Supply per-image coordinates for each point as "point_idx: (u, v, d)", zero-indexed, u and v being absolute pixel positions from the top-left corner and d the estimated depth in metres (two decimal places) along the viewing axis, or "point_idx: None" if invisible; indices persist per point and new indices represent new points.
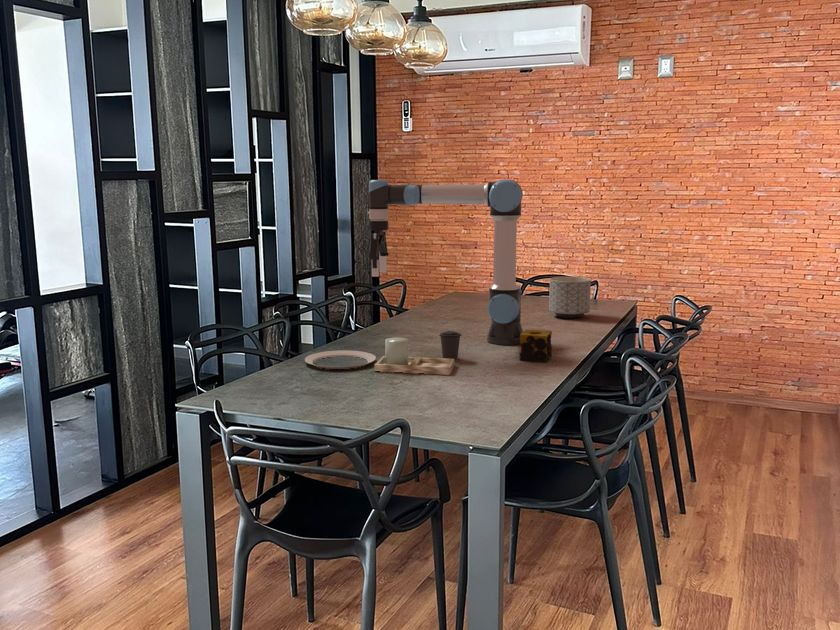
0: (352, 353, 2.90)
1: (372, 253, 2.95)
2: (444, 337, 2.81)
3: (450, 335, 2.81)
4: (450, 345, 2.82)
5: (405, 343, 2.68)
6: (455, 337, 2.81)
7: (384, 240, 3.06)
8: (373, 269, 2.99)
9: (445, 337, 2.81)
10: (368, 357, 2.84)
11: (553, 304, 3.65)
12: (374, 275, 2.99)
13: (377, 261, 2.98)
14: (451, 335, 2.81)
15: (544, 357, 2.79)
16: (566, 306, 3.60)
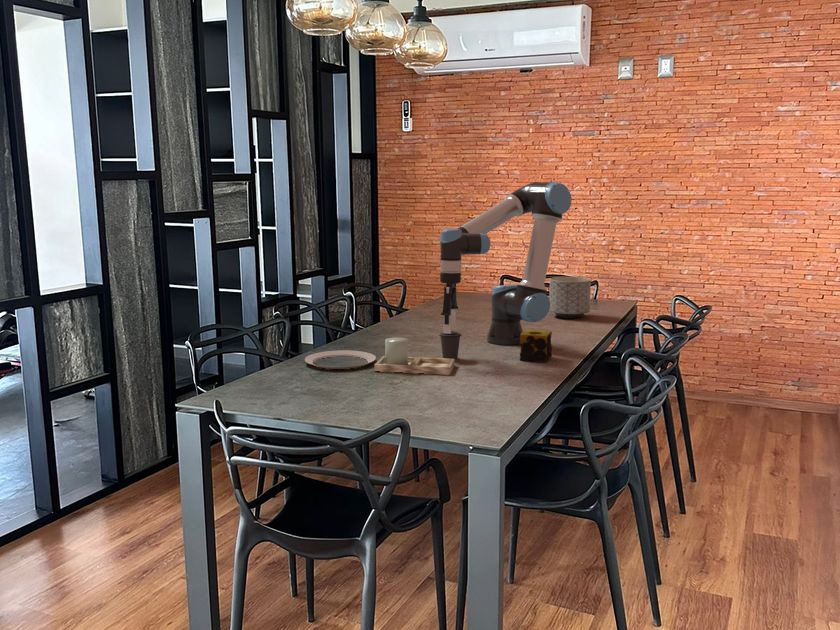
0: (352, 353, 2.90)
1: (445, 309, 2.73)
2: (444, 337, 2.81)
3: (450, 335, 2.81)
4: (450, 345, 2.82)
5: (405, 343, 2.68)
6: (455, 337, 2.81)
7: (455, 293, 2.83)
8: (445, 325, 2.76)
9: (445, 337, 2.81)
10: (368, 357, 2.84)
11: (553, 304, 3.65)
12: (446, 332, 2.77)
13: (449, 317, 2.76)
14: (451, 335, 2.81)
15: (544, 357, 2.79)
16: (566, 306, 3.60)
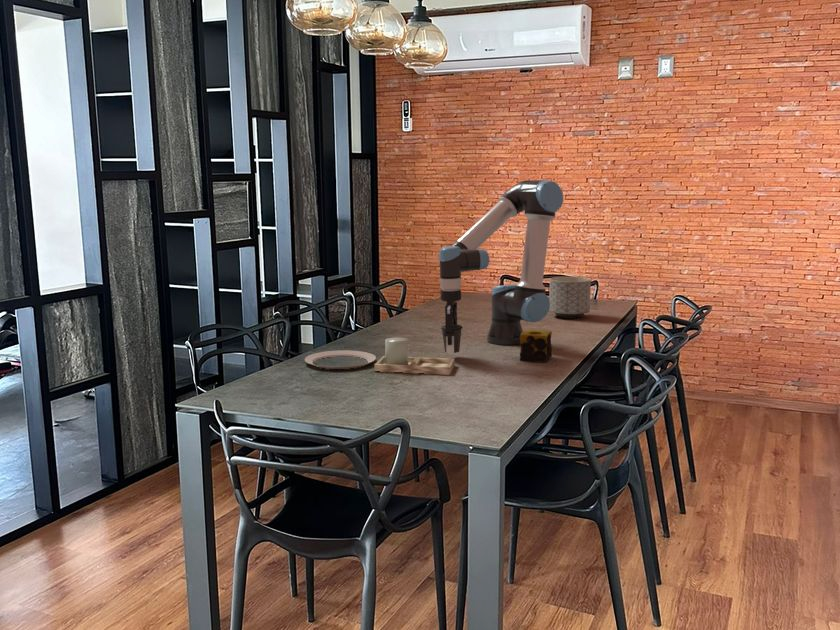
0: (352, 353, 2.90)
1: (447, 330, 2.77)
2: None
3: None
4: None
5: (405, 343, 2.68)
6: (456, 329, 2.81)
7: (456, 311, 2.84)
8: (448, 346, 2.81)
9: None
10: (368, 357, 2.84)
11: (553, 304, 3.65)
12: (449, 352, 2.81)
13: (452, 338, 2.80)
14: None
15: (544, 357, 2.79)
16: (566, 306, 3.60)
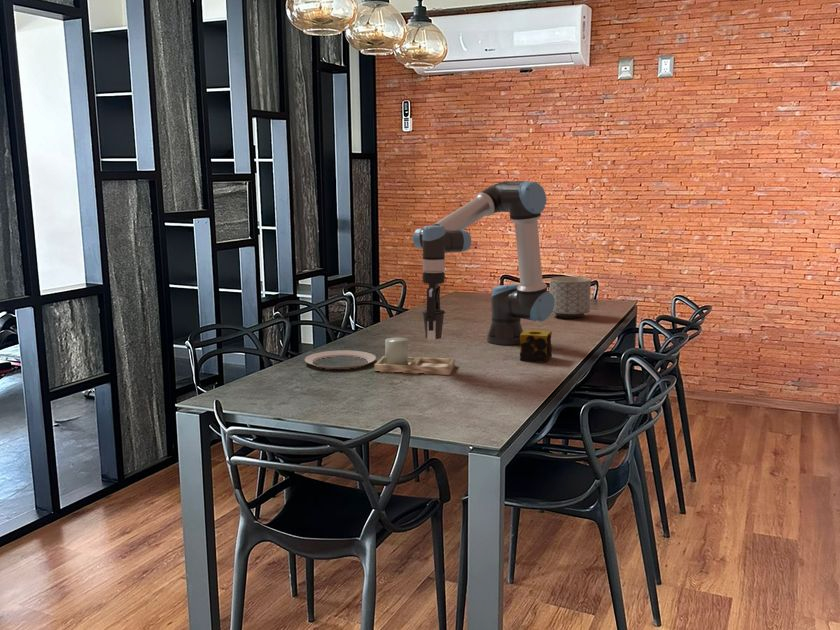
0: (352, 353, 2.90)
1: (428, 314, 2.59)
2: None
3: None
4: None
5: (405, 343, 2.68)
6: (438, 314, 2.63)
7: (439, 295, 2.67)
8: (429, 331, 2.63)
9: None
10: (368, 357, 2.84)
11: None
12: (430, 338, 2.63)
13: (433, 323, 2.62)
14: None
15: (544, 357, 2.79)
16: (566, 306, 3.60)
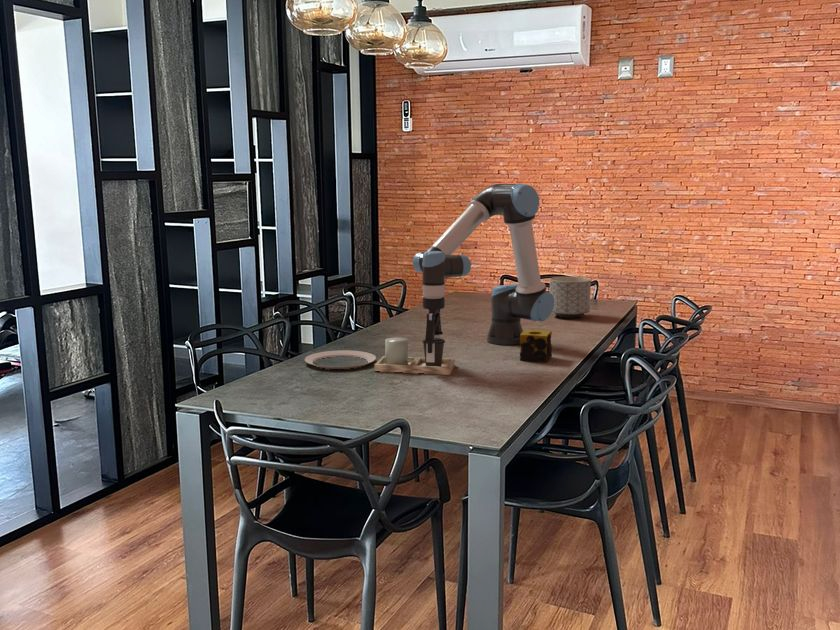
0: (352, 353, 2.90)
1: (428, 337, 2.58)
2: None
3: None
4: None
5: (405, 343, 2.68)
6: (438, 343, 2.65)
7: (439, 319, 2.69)
8: (428, 354, 2.62)
9: None
10: (368, 357, 2.84)
11: None
12: (429, 361, 2.62)
13: (432, 345, 2.61)
14: (434, 341, 2.65)
15: (544, 357, 2.79)
16: (566, 306, 3.60)
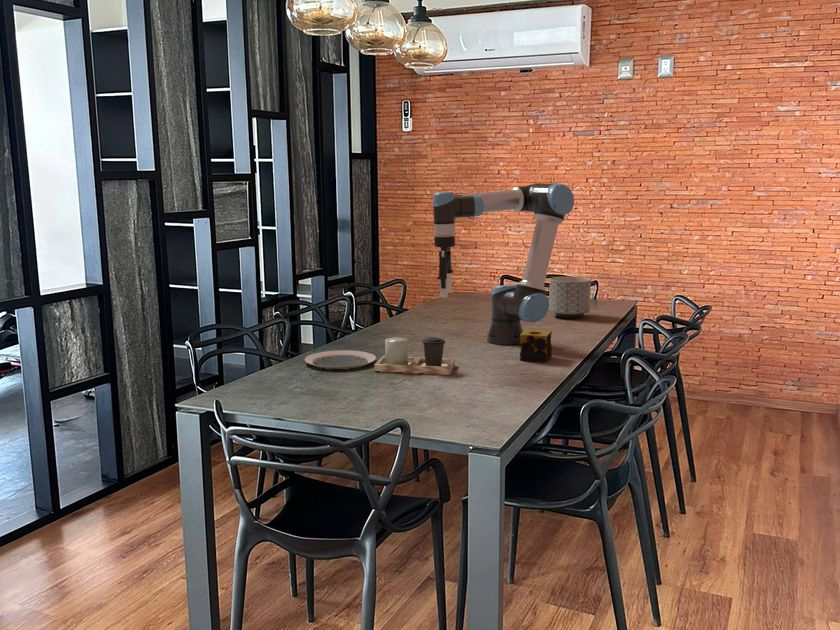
0: (352, 353, 2.90)
1: (441, 272, 2.71)
2: (427, 344, 2.65)
3: (433, 342, 2.65)
4: (433, 353, 2.65)
5: (405, 343, 2.68)
6: (438, 344, 2.65)
7: (450, 257, 2.82)
8: (441, 289, 2.75)
9: (428, 344, 2.65)
10: (368, 357, 2.84)
11: (553, 304, 3.65)
12: (443, 296, 2.75)
13: (445, 281, 2.74)
14: (434, 342, 2.65)
15: (544, 357, 2.79)
16: (566, 306, 3.60)
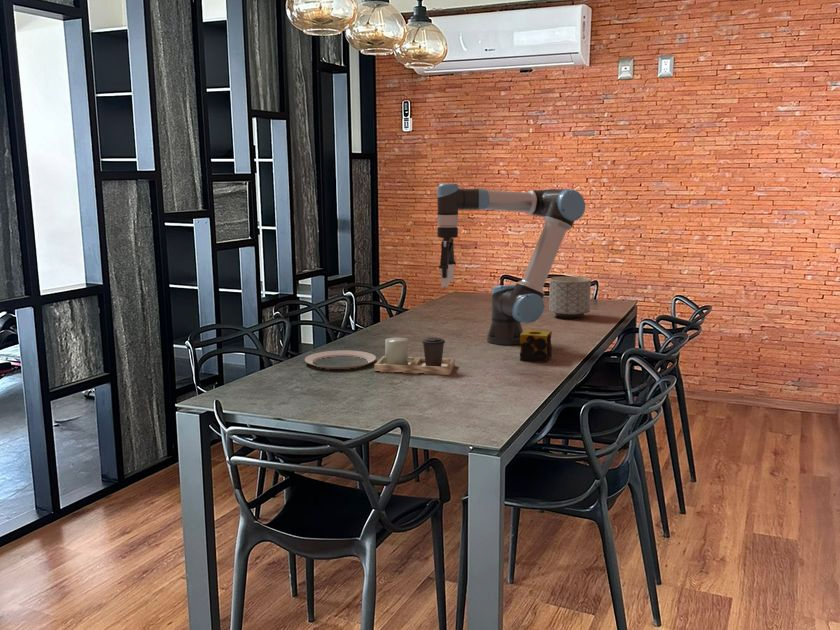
0: (352, 353, 2.90)
1: (442, 262, 2.76)
2: (426, 344, 2.65)
3: (433, 342, 2.65)
4: (433, 353, 2.65)
5: (405, 343, 2.68)
6: (438, 344, 2.65)
7: (453, 248, 2.87)
8: (443, 279, 2.80)
9: (427, 344, 2.65)
10: (368, 357, 2.84)
11: (553, 304, 3.65)
12: (444, 285, 2.80)
13: (447, 271, 2.79)
14: (434, 342, 2.65)
15: (544, 357, 2.79)
16: (566, 306, 3.60)
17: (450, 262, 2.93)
